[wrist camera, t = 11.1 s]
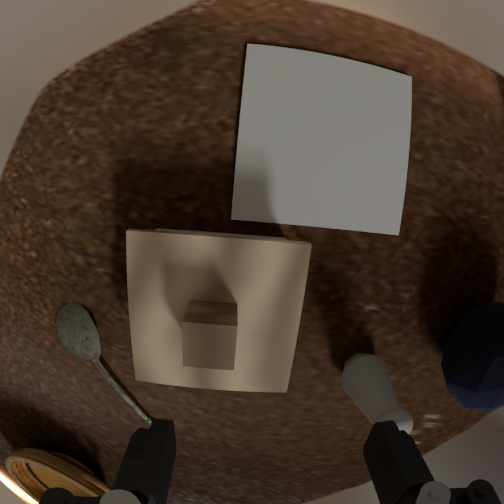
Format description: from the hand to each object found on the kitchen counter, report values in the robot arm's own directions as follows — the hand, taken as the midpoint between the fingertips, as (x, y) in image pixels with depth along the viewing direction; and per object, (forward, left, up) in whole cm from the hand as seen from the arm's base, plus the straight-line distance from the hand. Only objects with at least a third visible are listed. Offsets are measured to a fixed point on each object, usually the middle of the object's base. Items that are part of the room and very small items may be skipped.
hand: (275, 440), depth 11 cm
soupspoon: (+17, +16, -23) cm, 33 cm away
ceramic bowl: (+31, +45, -23) cm, 60 cm away
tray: (-7, -14, -23) cm, 27 cm away
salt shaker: (-15, +12, -23) cm, 30 cm away
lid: (+3, +3, -17) cm, 17 cm away
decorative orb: (-32, +8, -23) cm, 40 cm away
